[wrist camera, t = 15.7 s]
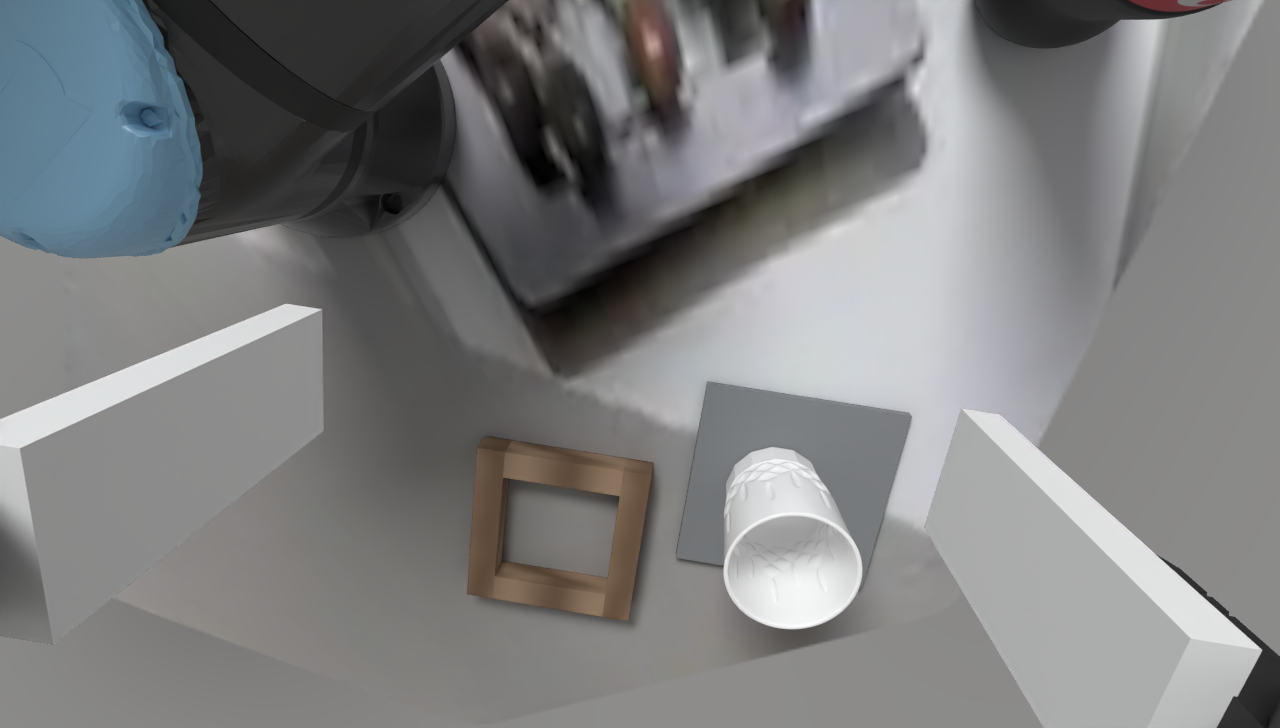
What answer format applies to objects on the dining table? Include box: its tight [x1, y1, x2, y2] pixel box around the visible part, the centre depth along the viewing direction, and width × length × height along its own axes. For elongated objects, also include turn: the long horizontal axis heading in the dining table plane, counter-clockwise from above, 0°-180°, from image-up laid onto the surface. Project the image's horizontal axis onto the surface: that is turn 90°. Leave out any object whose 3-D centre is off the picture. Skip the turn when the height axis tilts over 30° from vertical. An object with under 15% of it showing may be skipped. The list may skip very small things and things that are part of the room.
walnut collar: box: [467, 436, 653, 621], centre depth 51 cm, size 12×12×2 cm
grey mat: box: [676, 382, 912, 588], centre depth 49 cm, size 14×14×1 cm
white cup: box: [724, 447, 862, 629], centre depth 44 cm, size 8×8×10 cm
